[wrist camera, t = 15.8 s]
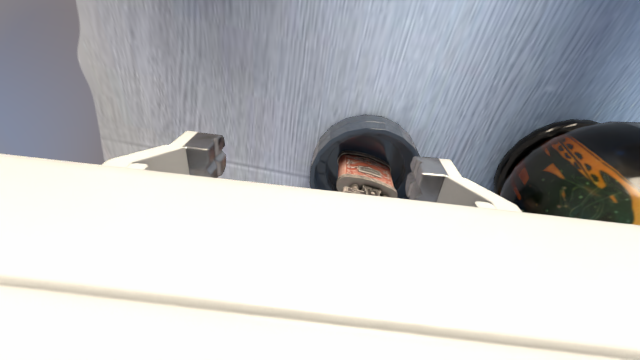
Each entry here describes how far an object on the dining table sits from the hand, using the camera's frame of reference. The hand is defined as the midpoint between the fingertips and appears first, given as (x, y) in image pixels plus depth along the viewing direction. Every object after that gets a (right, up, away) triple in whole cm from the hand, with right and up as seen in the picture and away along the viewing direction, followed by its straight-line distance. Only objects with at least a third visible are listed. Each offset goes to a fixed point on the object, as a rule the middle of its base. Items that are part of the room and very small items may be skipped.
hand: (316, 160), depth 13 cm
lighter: (+7, +2, +32) cm, 33 cm away
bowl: (+7, +2, +33) cm, 33 cm away
